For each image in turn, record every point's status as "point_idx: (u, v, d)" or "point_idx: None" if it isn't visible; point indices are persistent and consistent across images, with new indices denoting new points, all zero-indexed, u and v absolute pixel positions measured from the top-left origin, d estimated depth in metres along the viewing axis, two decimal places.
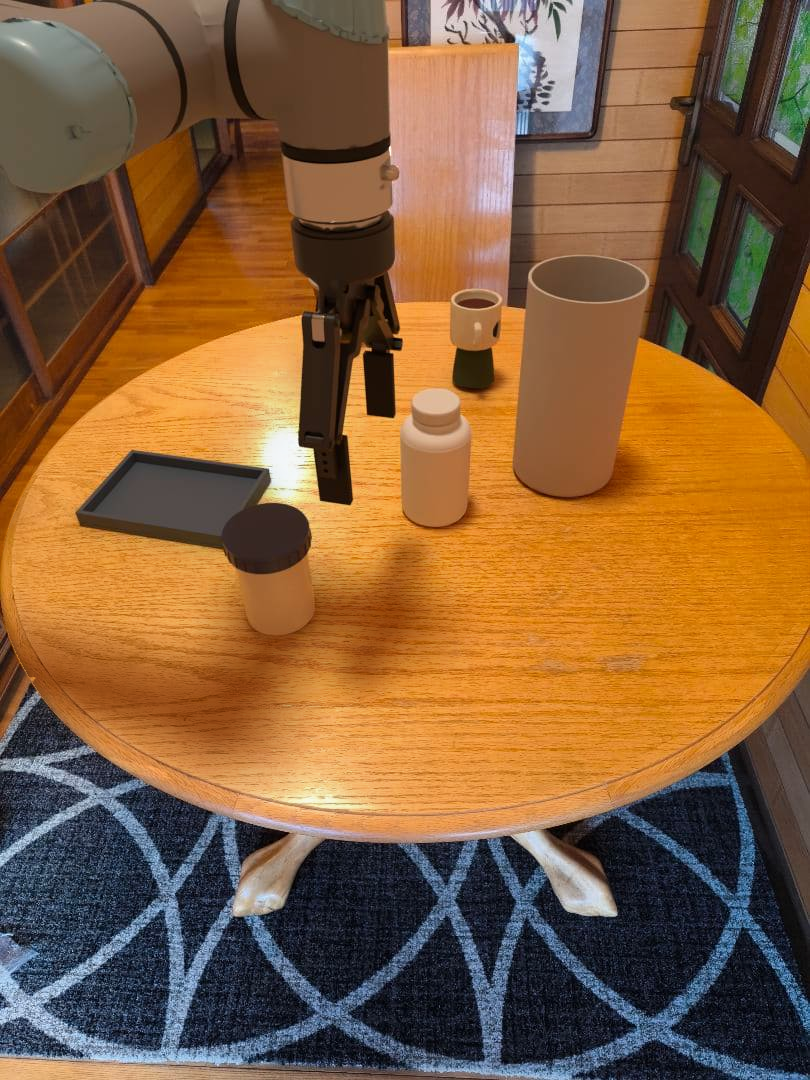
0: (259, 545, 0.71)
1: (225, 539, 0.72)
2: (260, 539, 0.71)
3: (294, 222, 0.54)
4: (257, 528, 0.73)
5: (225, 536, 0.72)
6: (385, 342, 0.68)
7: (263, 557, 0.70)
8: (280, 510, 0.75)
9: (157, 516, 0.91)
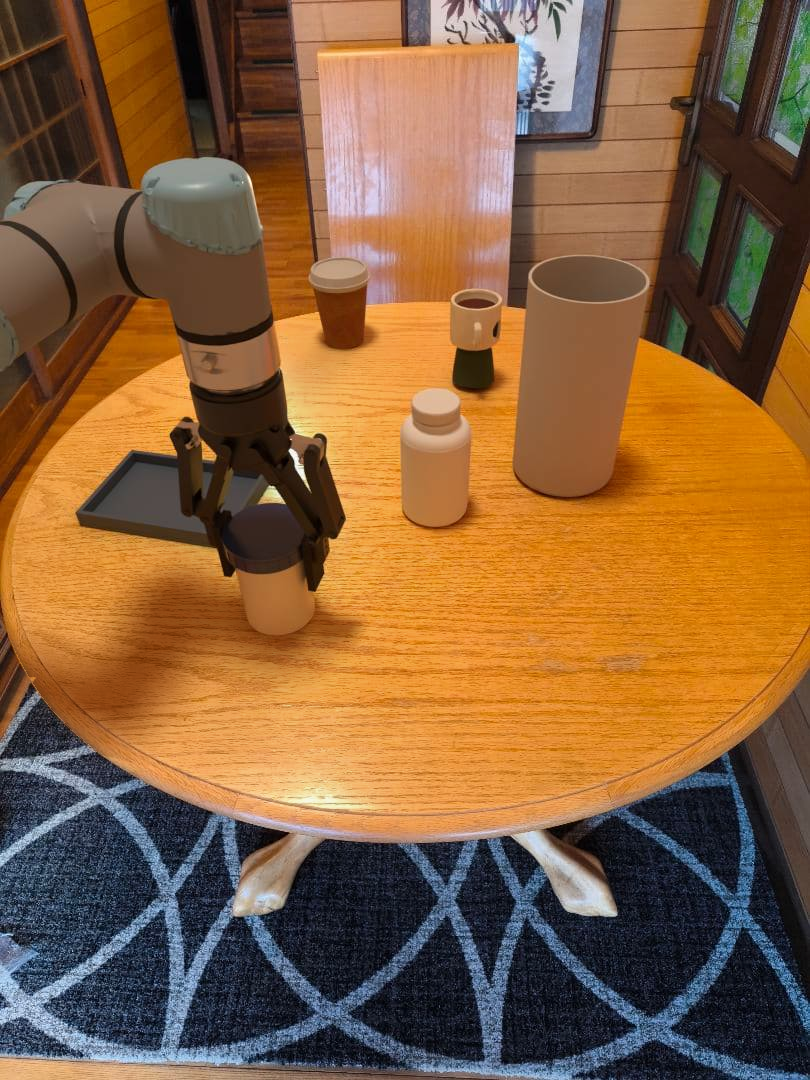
0: (259, 545, 0.71)
1: (225, 539, 0.72)
2: (260, 539, 0.71)
3: None
4: (257, 528, 0.73)
5: (225, 536, 0.72)
6: (300, 522, 0.69)
7: (263, 557, 0.70)
8: (280, 510, 0.75)
9: (157, 516, 0.91)
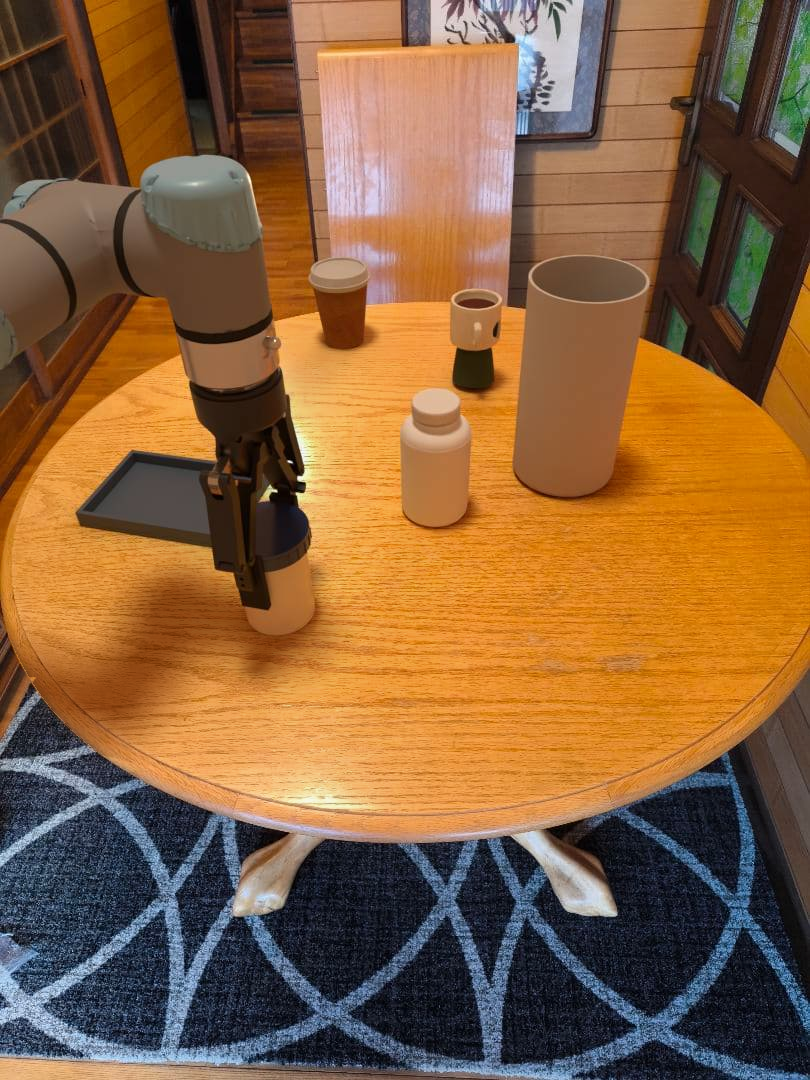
0: (288, 529, 0.72)
1: (272, 553, 0.70)
2: (279, 529, 0.72)
3: (191, 381, 0.61)
4: (261, 533, 0.72)
5: (268, 554, 0.70)
6: (287, 483, 0.74)
7: (306, 525, 0.73)
8: None
9: (157, 516, 0.91)
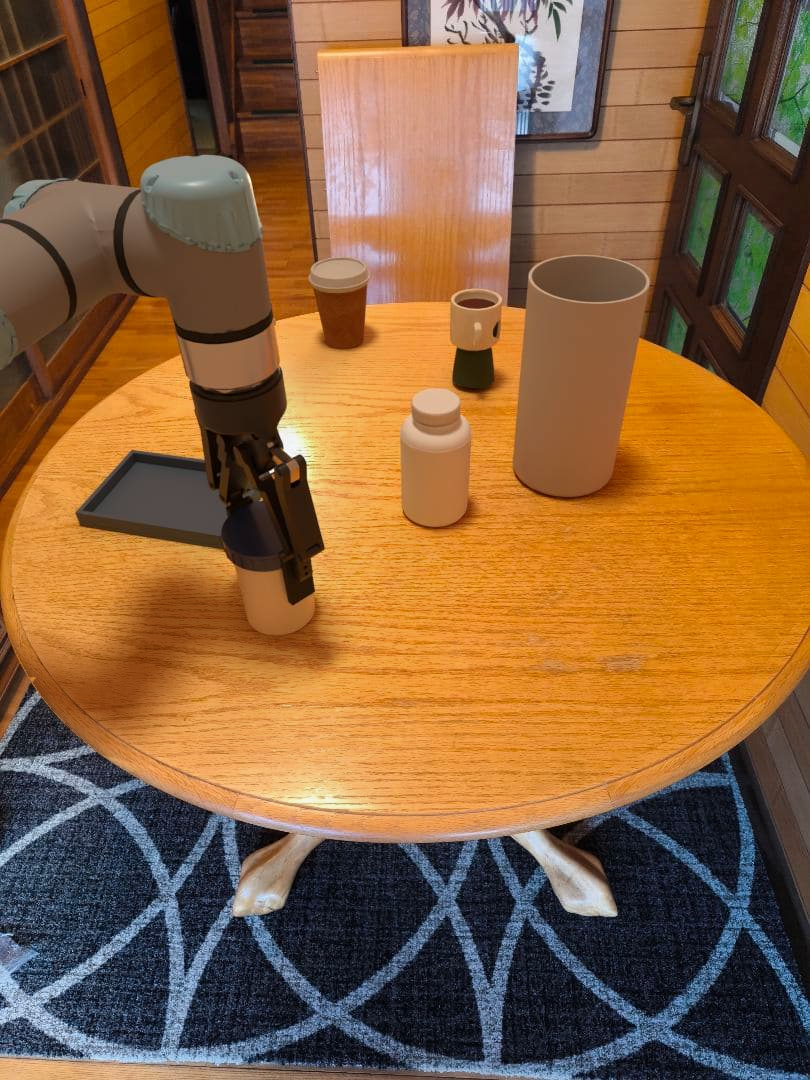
0: None
1: None
2: None
3: (214, 396, 0.59)
4: (269, 531, 0.72)
5: None
6: (245, 485, 0.74)
7: None
8: (235, 540, 0.71)
9: (157, 516, 0.91)
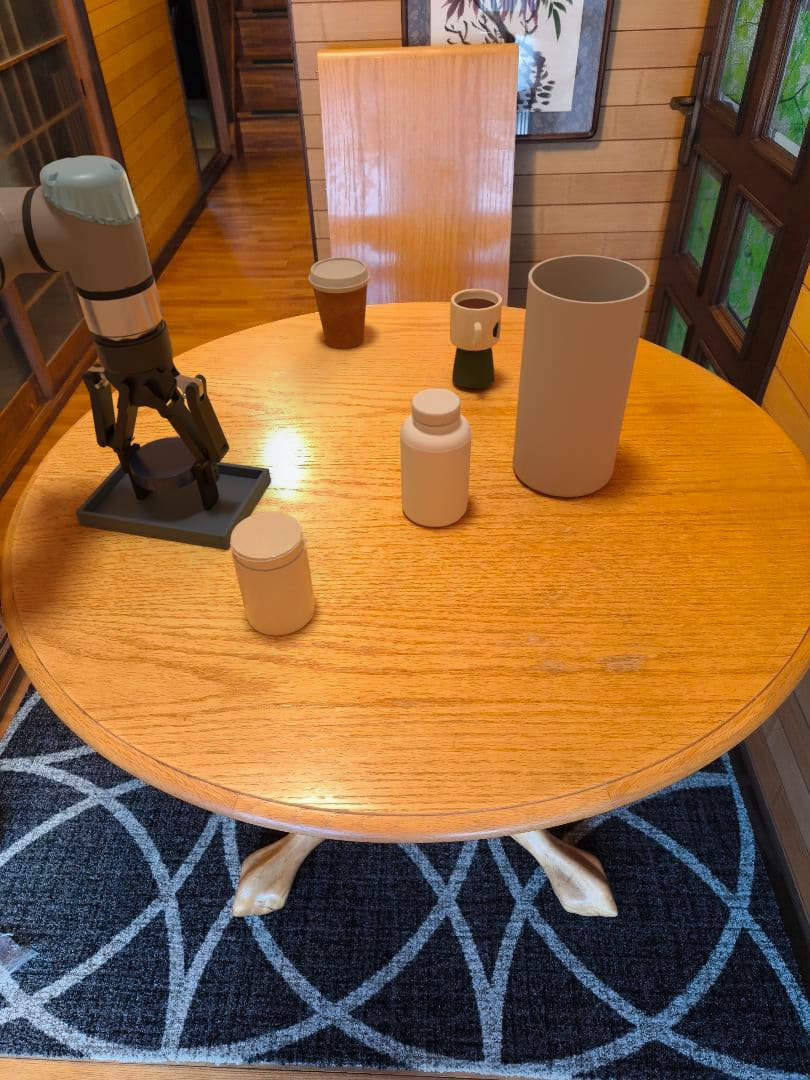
0: (172, 446, 0.91)
1: None
2: (170, 449, 0.90)
3: (128, 342, 0.76)
4: (172, 458, 0.89)
5: None
6: (132, 432, 0.89)
7: (170, 438, 0.92)
8: (150, 471, 0.87)
9: (157, 516, 0.91)
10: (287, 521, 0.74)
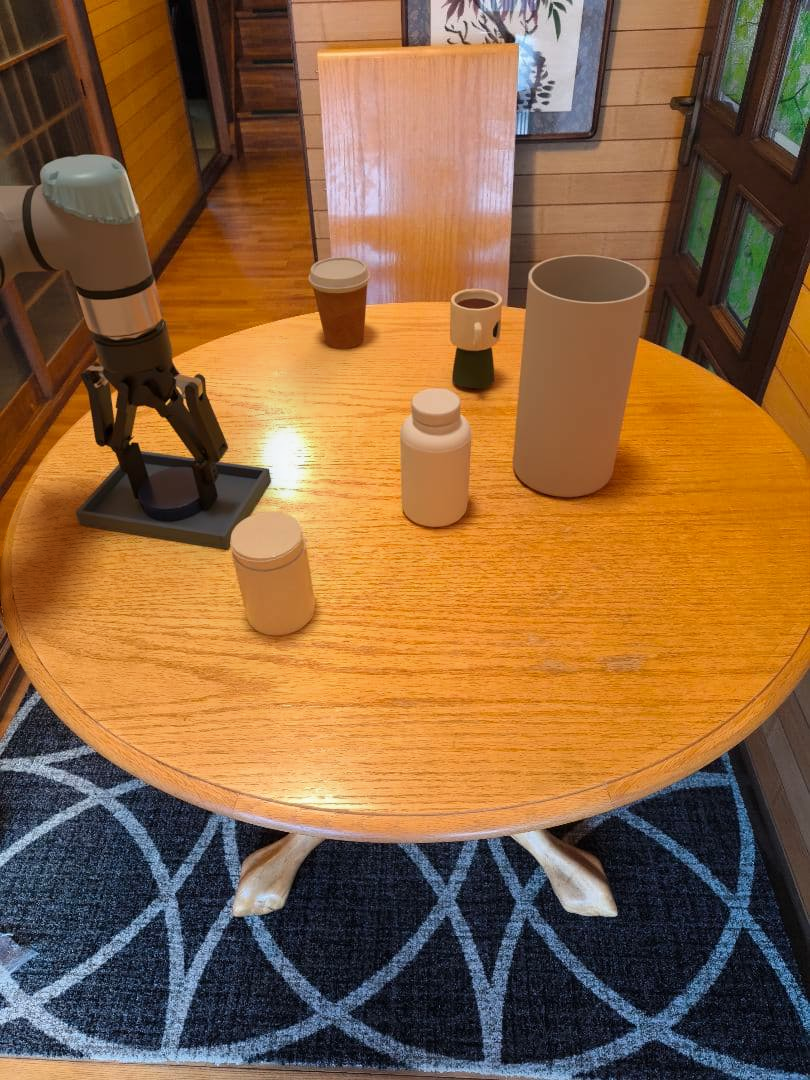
0: (179, 476, 0.94)
1: None
2: (178, 480, 0.93)
3: (128, 341, 0.76)
4: (179, 488, 0.92)
5: None
6: (131, 431, 0.89)
7: (177, 468, 0.95)
8: (158, 502, 0.90)
9: None
10: (287, 521, 0.74)
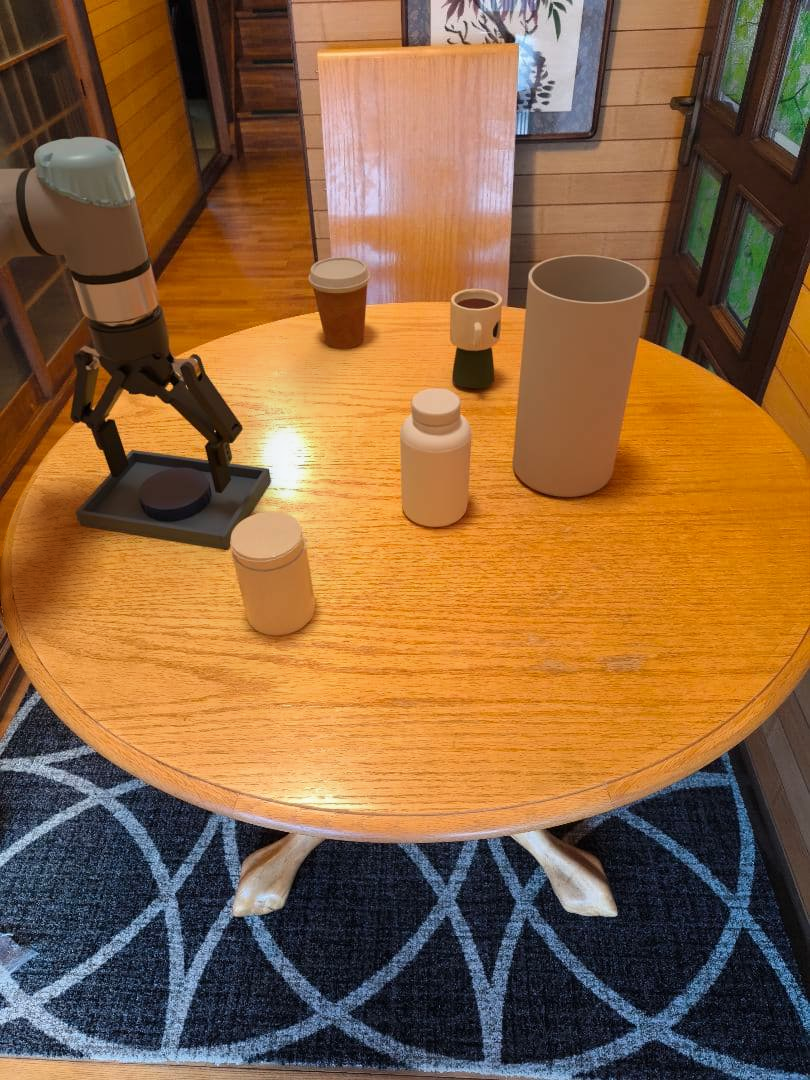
0: (179, 476, 0.94)
1: (205, 481, 0.93)
2: (178, 480, 0.93)
3: (124, 328, 0.75)
4: (179, 488, 0.92)
5: (205, 483, 0.93)
6: (110, 410, 0.88)
7: (178, 468, 0.95)
8: (158, 502, 0.90)
9: None
10: (287, 521, 0.74)
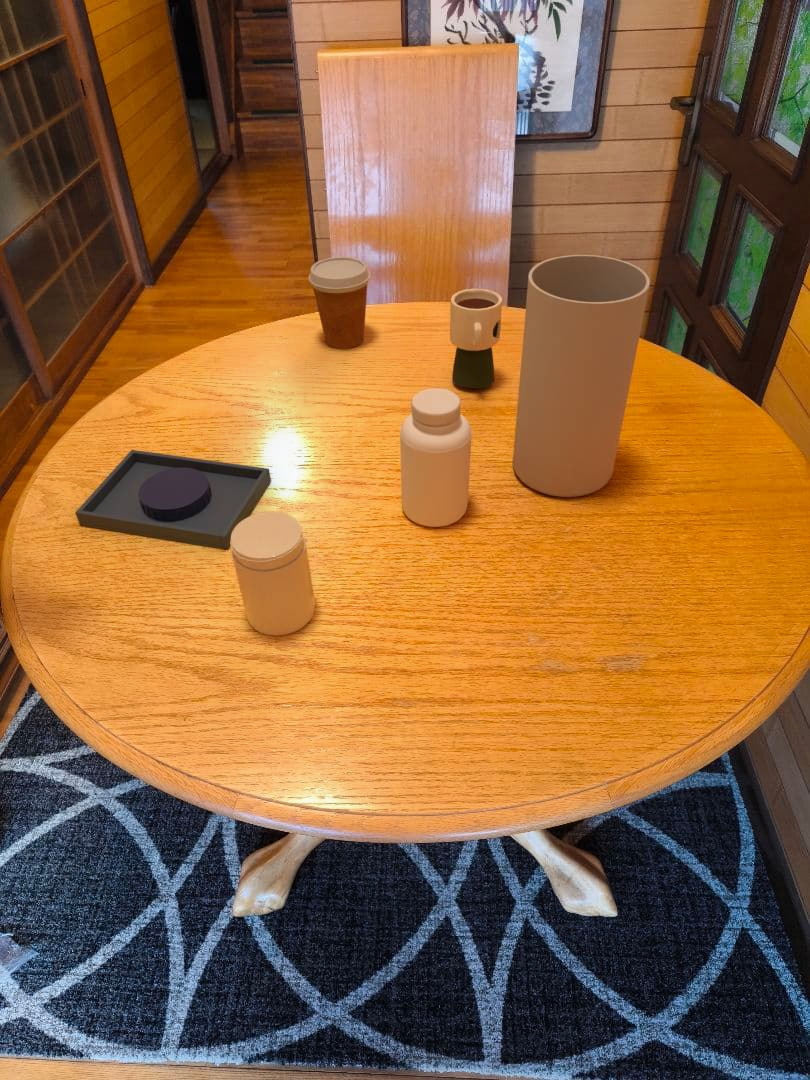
0: (179, 476, 0.94)
1: (205, 481, 0.93)
2: (178, 480, 0.93)
3: None
4: (179, 488, 0.92)
5: (205, 483, 0.93)
6: None
7: (178, 468, 0.95)
8: (158, 502, 0.90)
9: None
10: (287, 521, 0.74)
